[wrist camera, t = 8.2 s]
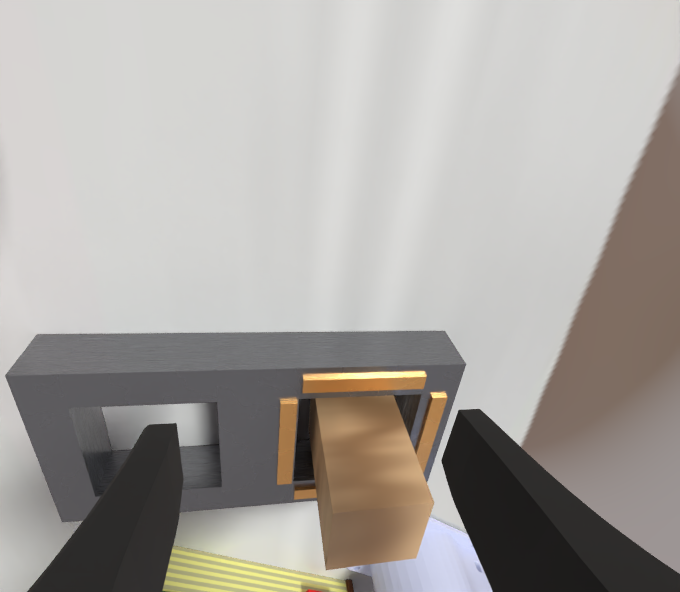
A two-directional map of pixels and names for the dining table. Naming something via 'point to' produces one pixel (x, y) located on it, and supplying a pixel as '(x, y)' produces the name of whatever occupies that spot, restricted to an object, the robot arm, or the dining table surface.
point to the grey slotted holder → (222, 404)
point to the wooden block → (366, 481)
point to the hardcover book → (239, 575)
